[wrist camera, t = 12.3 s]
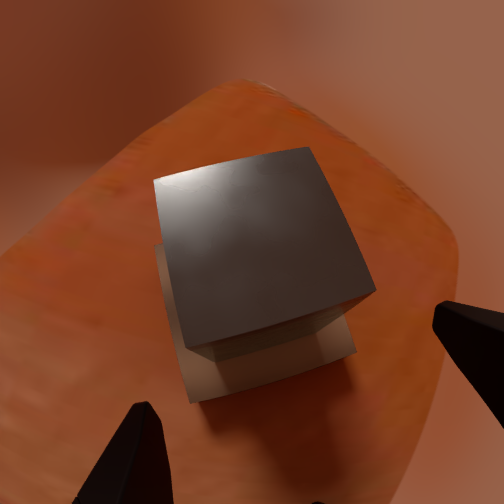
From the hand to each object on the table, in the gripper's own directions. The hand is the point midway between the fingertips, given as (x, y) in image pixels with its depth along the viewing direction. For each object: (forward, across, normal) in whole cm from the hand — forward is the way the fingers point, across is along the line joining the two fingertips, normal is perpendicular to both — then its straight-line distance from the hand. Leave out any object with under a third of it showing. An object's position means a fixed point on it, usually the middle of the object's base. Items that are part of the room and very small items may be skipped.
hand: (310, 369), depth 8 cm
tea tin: (+11, 0, +4) cm, 12 cm away
